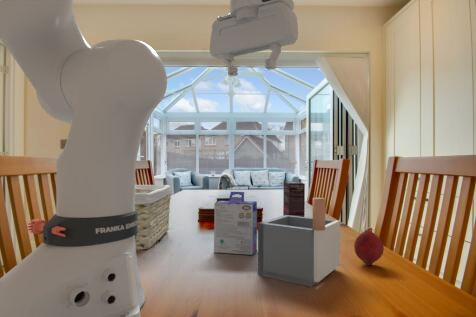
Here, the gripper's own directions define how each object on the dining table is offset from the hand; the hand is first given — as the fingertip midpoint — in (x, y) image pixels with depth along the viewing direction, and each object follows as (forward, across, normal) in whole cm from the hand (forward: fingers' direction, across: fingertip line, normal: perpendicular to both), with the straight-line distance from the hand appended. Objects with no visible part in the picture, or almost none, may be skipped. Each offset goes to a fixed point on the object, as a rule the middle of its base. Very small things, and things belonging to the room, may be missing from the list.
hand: (250, 72), depth 70 cm
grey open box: (+41, +10, +2) cm, 42 cm away
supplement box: (+41, -4, +32) cm, 52 cm away
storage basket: (+41, -39, +1) cm, 57 cm away
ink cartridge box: (+41, -9, +8) cm, 43 cm away
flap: (+40, +16, +2) cm, 43 cm away
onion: (+41, +20, +15) cm, 48 cm away
